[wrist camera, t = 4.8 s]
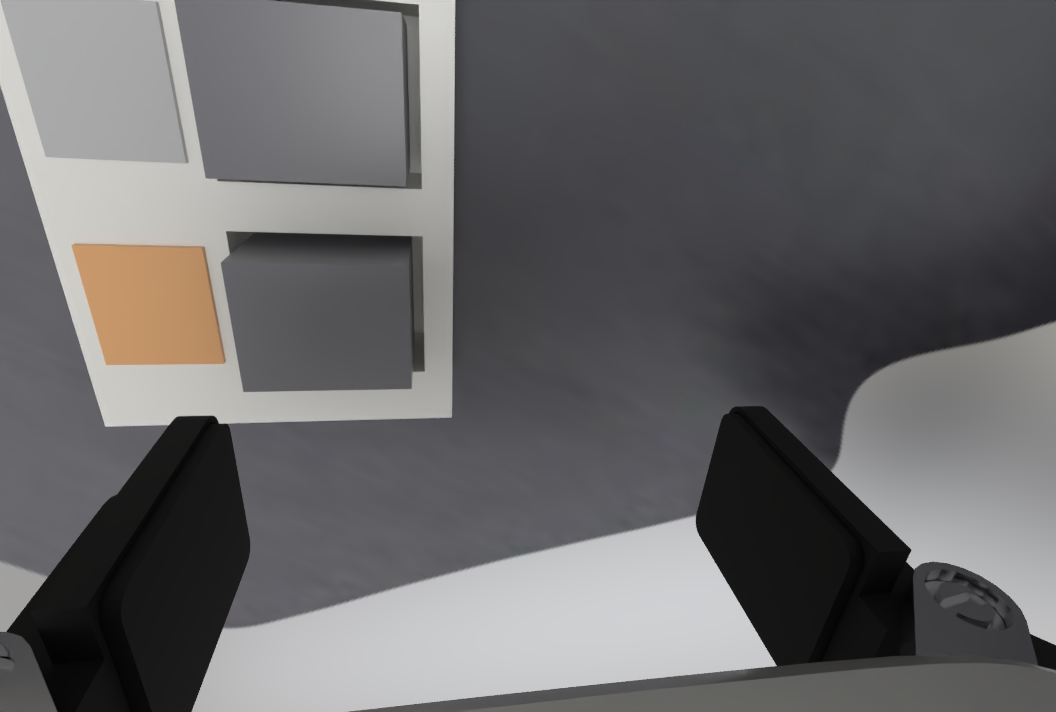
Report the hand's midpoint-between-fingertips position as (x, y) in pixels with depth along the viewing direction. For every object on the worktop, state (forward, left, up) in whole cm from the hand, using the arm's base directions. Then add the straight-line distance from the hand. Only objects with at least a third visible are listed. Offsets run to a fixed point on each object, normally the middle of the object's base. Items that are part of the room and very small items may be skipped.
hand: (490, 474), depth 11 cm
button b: (+4, -6, -12) cm, 14 cm away
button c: (+4, 0, -12) cm, 12 cm away
